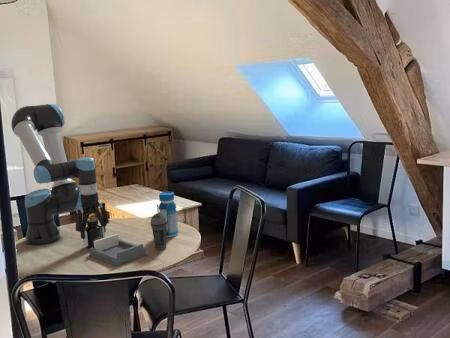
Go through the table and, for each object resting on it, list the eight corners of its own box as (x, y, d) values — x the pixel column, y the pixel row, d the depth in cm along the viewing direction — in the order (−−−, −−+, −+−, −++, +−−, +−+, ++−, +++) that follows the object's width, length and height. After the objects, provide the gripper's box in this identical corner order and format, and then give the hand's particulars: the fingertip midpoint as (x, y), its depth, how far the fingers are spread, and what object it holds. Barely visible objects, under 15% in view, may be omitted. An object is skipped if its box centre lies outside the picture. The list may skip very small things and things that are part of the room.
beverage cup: (168, 244, 214) (165, 200, 210) (170, 250, 207) (166, 204, 203) (152, 246, 213) (148, 202, 209) (153, 252, 206) (149, 206, 202)
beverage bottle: (177, 237, 223) (174, 195, 219) (159, 238, 223) (155, 195, 219) (179, 231, 231) (176, 190, 227) (162, 232, 232) (158, 191, 228)
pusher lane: (89, 255, 207) (88, 243, 206) (119, 244, 217) (118, 234, 216) (116, 266, 193) (115, 254, 192) (146, 254, 203) (145, 243, 202)
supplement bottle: (98, 249, 213) (95, 222, 211) (84, 248, 215) (81, 222, 212) (105, 243, 220) (102, 218, 217) (91, 243, 221) (88, 218, 219)
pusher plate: (94, 251, 207) (93, 241, 206) (117, 244, 215) (116, 233, 214) (96, 252, 206) (95, 241, 205) (119, 244, 214) (118, 234, 213)
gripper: (71, 199, 203) (77, 251, 207) (114, 189, 217) (119, 237, 222) (62, 197, 208) (69, 247, 212) (104, 187, 222) (109, 234, 227)
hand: (94, 242), depth 217 cm, fingers open, 8 cm apart
